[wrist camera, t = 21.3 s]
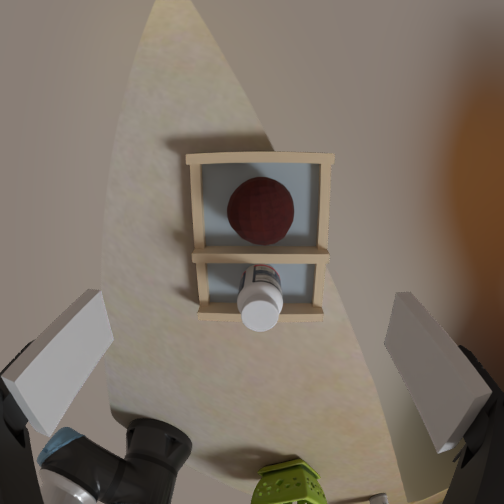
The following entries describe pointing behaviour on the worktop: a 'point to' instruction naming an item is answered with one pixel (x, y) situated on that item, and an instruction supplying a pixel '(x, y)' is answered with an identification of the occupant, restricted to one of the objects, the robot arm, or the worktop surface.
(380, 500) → the travel mug
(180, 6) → the worktop surface
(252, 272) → the pill bottle
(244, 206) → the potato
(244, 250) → the open tray
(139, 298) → the worktop surface
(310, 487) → the flower pot
